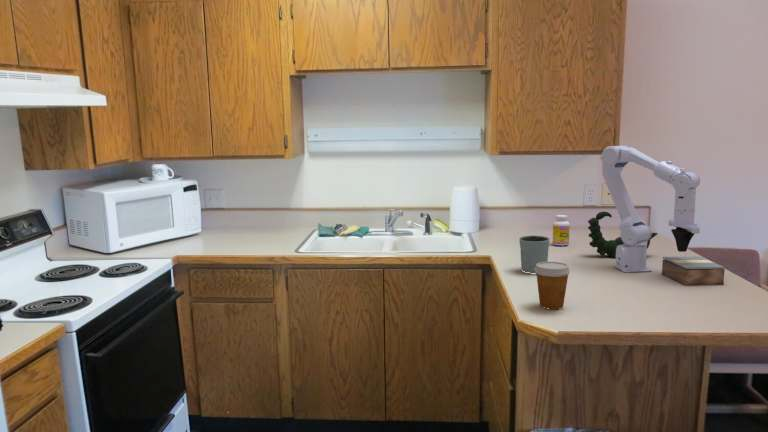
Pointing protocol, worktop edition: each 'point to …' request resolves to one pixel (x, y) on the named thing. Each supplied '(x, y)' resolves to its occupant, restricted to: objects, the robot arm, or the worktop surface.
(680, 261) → the lid
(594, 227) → the toy figurine
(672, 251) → the worktop surface
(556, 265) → the disposable coffee cup
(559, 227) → the supplement bottle
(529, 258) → the grey cup
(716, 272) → the box
